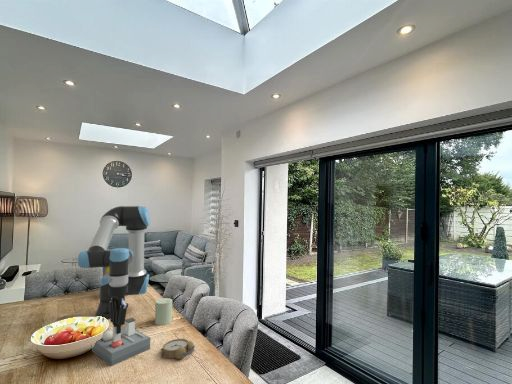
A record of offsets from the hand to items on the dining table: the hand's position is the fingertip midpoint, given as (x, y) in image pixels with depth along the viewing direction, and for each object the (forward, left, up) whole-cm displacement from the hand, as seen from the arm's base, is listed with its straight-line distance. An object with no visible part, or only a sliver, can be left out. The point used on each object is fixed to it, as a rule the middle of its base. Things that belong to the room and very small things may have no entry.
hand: (116, 340), depth 118 cm
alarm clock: (+19, +18, -7) cm, 27 cm away
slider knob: (-4, +8, -1) cm, 9 cm away
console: (-4, +4, -7) cm, 9 cm away
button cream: (-8, 0, -3) cm, 8 cm away
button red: (0, 0, -4) cm, 4 cm away
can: (-15, +33, -7) cm, 37 cm away
